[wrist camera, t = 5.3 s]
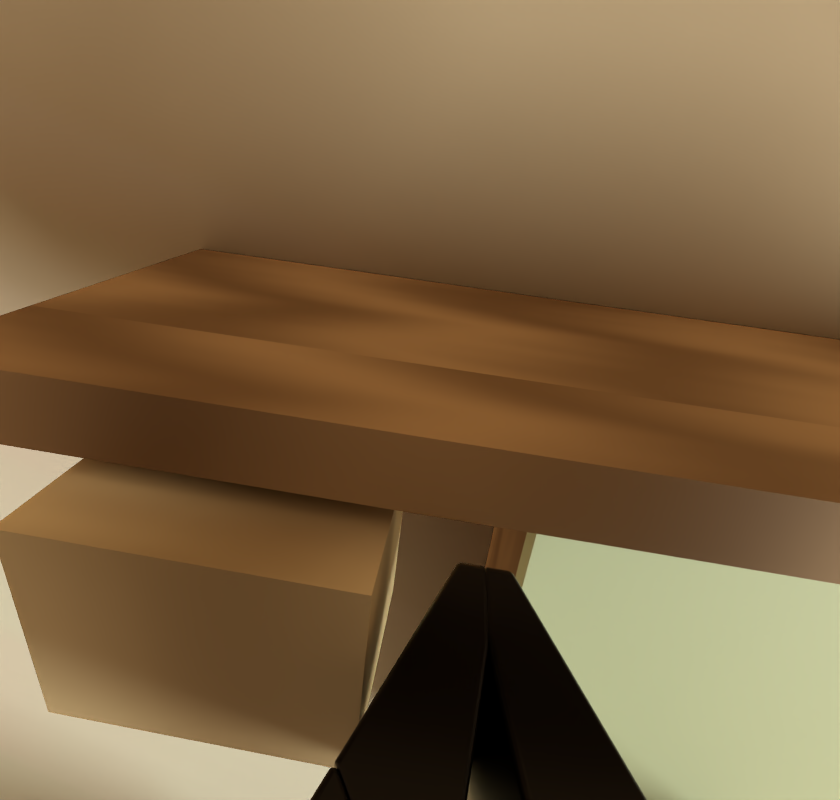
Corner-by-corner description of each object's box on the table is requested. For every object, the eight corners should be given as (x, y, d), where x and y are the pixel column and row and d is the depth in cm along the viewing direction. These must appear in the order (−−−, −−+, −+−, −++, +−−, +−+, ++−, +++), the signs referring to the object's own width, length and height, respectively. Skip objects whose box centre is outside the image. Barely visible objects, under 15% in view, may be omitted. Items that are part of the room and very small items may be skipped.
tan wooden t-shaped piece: (231, 699, 19) (107, 964, 13) (200, 248, 12) (-111, 352, 6) (729, 794, 18) (856, 1131, 12) (1014, 364, 11) (1707, 641, 5)
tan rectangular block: (174, 551, 9) (48, 711, 7) (156, 403, 8) (-10, 529, 5) (393, 589, 9) (353, 771, 6) (411, 443, 8) (372, 596, 5)
